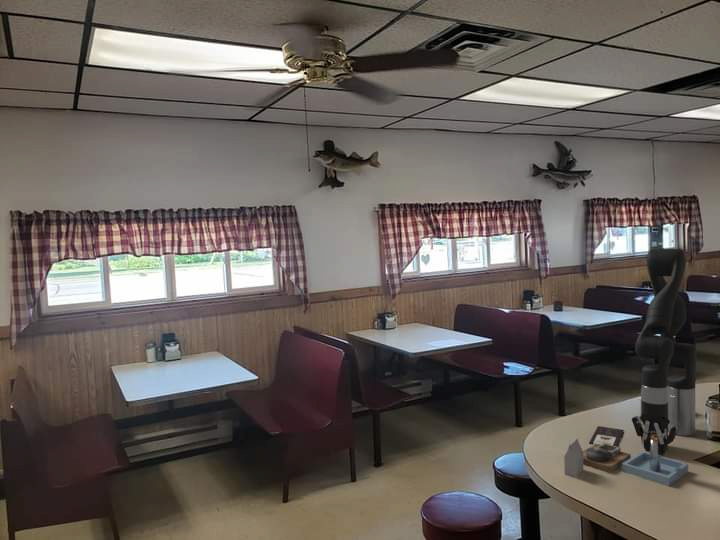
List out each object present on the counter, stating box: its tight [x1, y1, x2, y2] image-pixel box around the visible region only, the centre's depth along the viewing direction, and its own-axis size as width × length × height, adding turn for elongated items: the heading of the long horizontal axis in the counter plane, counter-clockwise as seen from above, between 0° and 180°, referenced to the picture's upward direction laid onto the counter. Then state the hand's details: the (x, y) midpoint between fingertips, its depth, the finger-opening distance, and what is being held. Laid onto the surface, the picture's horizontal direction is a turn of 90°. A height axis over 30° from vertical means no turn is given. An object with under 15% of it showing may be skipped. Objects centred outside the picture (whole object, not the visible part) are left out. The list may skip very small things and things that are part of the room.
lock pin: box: [650, 434, 661, 472], centre depth 173 cm, size 3×3×11 cm
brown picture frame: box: [588, 425, 625, 447], centre depth 202 cm, size 9×1×18 cm
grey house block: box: [563, 438, 584, 478], centre depth 176 cm, size 4×7×10 cm, turn 141°
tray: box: [621, 450, 689, 487], centre depth 174 cm, size 14×14×2 cm
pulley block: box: [583, 443, 632, 474], centre depth 183 cm, size 14×12×5 cm
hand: (654, 452), depth 173 cm, fingers open, 3 cm apart
